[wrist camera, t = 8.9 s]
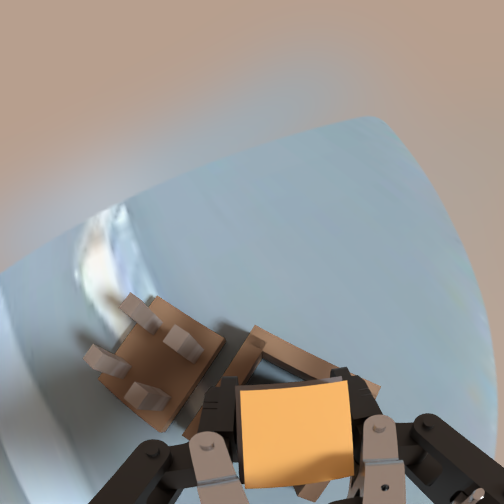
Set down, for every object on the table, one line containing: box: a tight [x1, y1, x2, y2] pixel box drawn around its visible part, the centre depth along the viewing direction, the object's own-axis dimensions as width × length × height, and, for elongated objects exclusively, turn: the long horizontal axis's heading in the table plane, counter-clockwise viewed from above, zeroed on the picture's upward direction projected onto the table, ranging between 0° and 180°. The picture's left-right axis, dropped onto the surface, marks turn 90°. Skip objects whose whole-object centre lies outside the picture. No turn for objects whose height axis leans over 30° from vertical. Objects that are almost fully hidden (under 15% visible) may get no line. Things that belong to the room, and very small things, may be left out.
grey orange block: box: [235, 376, 354, 489], centre depth 11 cm, size 4×4×10 cm
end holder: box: [182, 325, 381, 502], centre depth 15 cm, size 9×8×2 cm
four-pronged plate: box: [83, 292, 226, 432], centre depth 16 cm, size 6×8×5 cm
